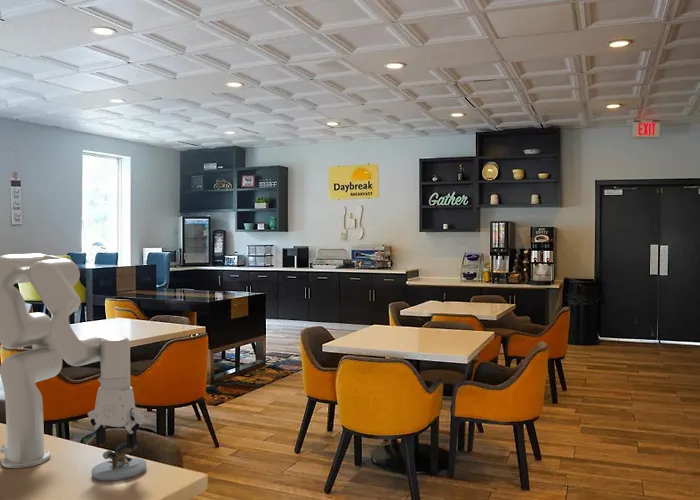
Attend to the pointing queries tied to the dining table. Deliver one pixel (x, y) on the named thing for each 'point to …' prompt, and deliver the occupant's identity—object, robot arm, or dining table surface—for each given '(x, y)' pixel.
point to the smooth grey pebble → (118, 469)
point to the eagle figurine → (119, 453)
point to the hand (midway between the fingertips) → (116, 445)
